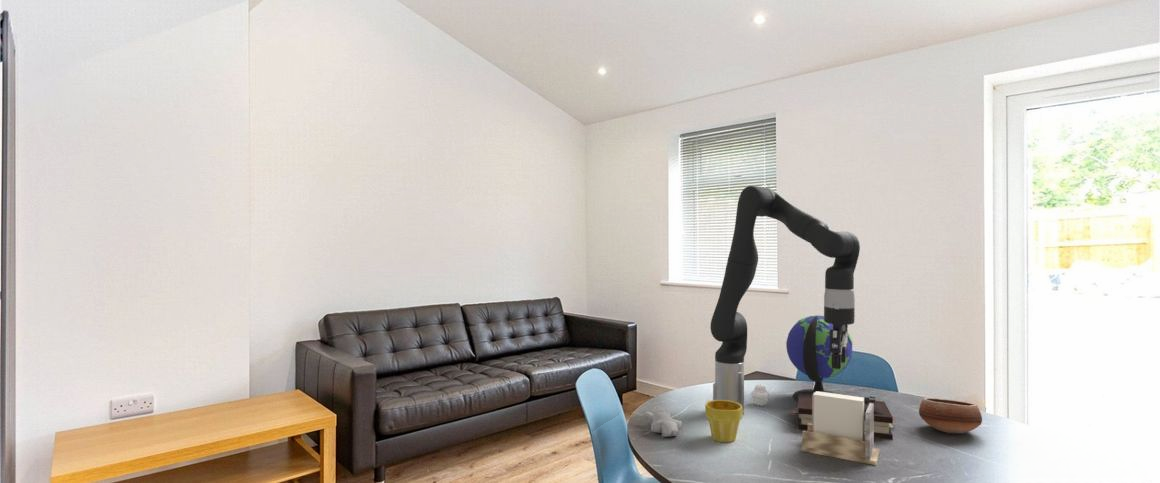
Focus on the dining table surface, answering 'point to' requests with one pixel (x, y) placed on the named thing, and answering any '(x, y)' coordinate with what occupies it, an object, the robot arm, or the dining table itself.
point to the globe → (814, 351)
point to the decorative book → (880, 415)
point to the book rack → (844, 443)
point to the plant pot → (723, 419)
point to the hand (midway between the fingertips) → (838, 365)
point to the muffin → (760, 395)
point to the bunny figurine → (664, 423)
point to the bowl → (950, 415)
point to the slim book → (838, 415)
